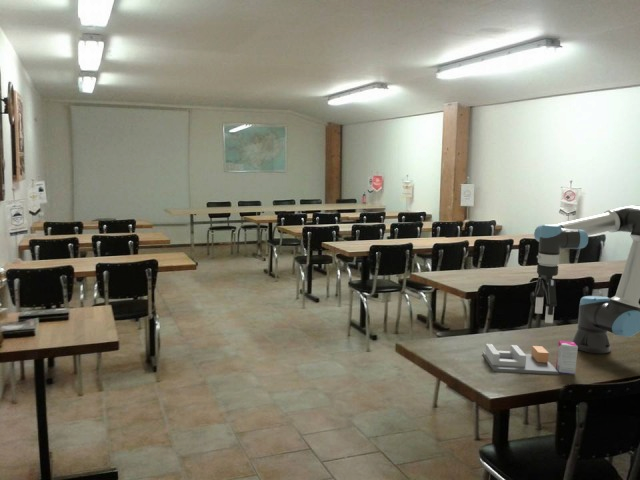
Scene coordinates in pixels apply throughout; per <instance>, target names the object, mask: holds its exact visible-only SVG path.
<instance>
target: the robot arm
mask: <svg viewBox="0 0 640 480" xmlns="http://www.w3.org/2000/svg"><path fill="white" fill-rule="evenodd" d="M605 232H609V233H616V232H624V233H625V232H626V233H630V238H631V239H632V244H631V246H630V248H629V253H628V255H627V259H626V261H625V264H624V268H623V271H622V273H621V277H620V280H619V283H618V286H617V289H616V293H615V295H614V296H612V297H608V296H600V295H599V296H598V295H586V296H582V297H581V298H580V301H579V305H578V319H577V320H578V321H577V330H576V331H575V333H574V335H573V337H572V340H571V342H574V343H575V344H576V345H577V346H578V350H579V351H581V352H586V353H590V354H591V353H593V354H607V353H610V351H611V343H610V338H609V335H608V332H609V333H612V334H614V335H616V336H619V337H623V338H631V337H634V336H635V335H637V334H638V333H640V303H639V302H640V205H627V206H622V207H617V208H612V209H608V210H606V211H604V213H600V214H597V215H592V216H588V217H584V218H579V219H575V220H570V221H566V222H561V223H557V224H554V223H553V224H549V223H545V224H540V225H538V226H536V228H535V229H534V233H533V236H534V239H535V241H537V242H538V254H537V255H536V259H537V263H538V264H537V267H536V273H537V274H538V275H537V276H538V277H537V281H536V285H535V289H534V294H535V307H534V314H540V315H541V314H543V309H544V308H543V307H544V306H545V316H544V323H545V324H553V323H554V313H555V308H556V307H557V306H558V305H557V304H558V302H557V290H556V286H557V285H556V284H557V283H556V279H553V277H556V276H558V274H559V266H558V265H560V251H561V250H564V249H565V250H569V249H570V250H579V249H584V248H586V247H587V245H588V243H589V236H592V235H596V234H601V233H605ZM545 297H546V298H545ZM544 298H545V299H546V304H545V305H544ZM578 350H577V351H578Z"/></svg>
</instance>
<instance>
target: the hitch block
mask: <svg viewBox="0 0 640 480" xmlns="http://www.w3.org/2000/svg"><path fill="white" fill-rule="evenodd" d="M482 356H483V357H484V359H485V360H486V362H487V363H488V365H489V366H490V367H491V369H492V370H493V372H499V373H500V372H501V373H502V372H503V373H519V374H520V373H522V374H539V375H540V374H542V375H559V372H558V371H557V369H556V367H555V366H554V365H553V364H552V363H551V362H550V361H549V360H548V363H544V362H537V361H536V360H535V359H534V358H533V357H532V355H531V353H524V351H523V350H522V349H521V348H520V347H519V346H518V345H517V344H510V349H509V350H497V348H496V347H495V346H494V345H493V344H492V343H486V344H485V351H482Z"/></svg>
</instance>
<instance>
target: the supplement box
mask: <svg viewBox="0 0 640 480" xmlns="http://www.w3.org/2000/svg"><path fill="white" fill-rule="evenodd" d="M557 347H558V348H557V356H556V357H557V358H556V363H555V364H556V365H555V369H556V370H557V371H558V375H559V374H560V375H570V376H575V375H576V366H577V356H578V346H577V345H576V344H575V343H574V342H572V341H567V340H566V341H565V340H559V341H558V346H557Z"/></svg>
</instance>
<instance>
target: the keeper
mask: <svg viewBox="0 0 640 480" xmlns="http://www.w3.org/2000/svg"><path fill="white" fill-rule="evenodd" d="M549 353H550V352H549V351H548V350H547V349H546V348H544V346H542V345H541V346H539V345H531V353H530V354H531V355H532V357H533V358H534V359H535V360H536V361H537V362H544V363H548V361H549V357H550V355H549Z"/></svg>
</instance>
